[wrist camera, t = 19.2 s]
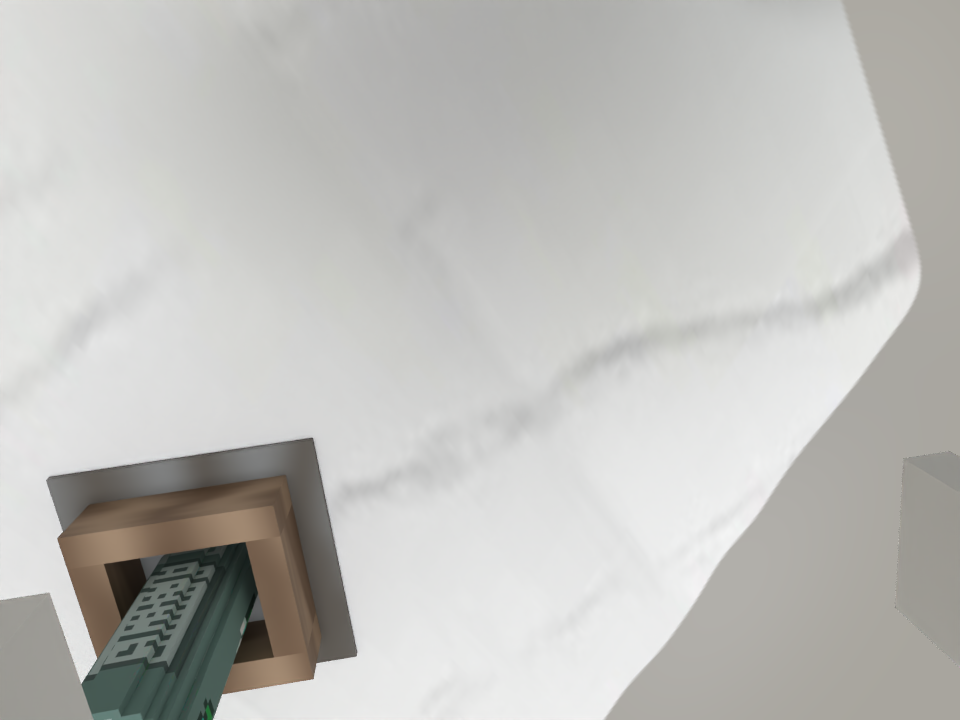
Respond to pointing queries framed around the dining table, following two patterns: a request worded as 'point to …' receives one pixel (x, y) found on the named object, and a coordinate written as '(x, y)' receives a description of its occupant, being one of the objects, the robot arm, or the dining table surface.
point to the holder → (209, 523)
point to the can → (176, 639)
